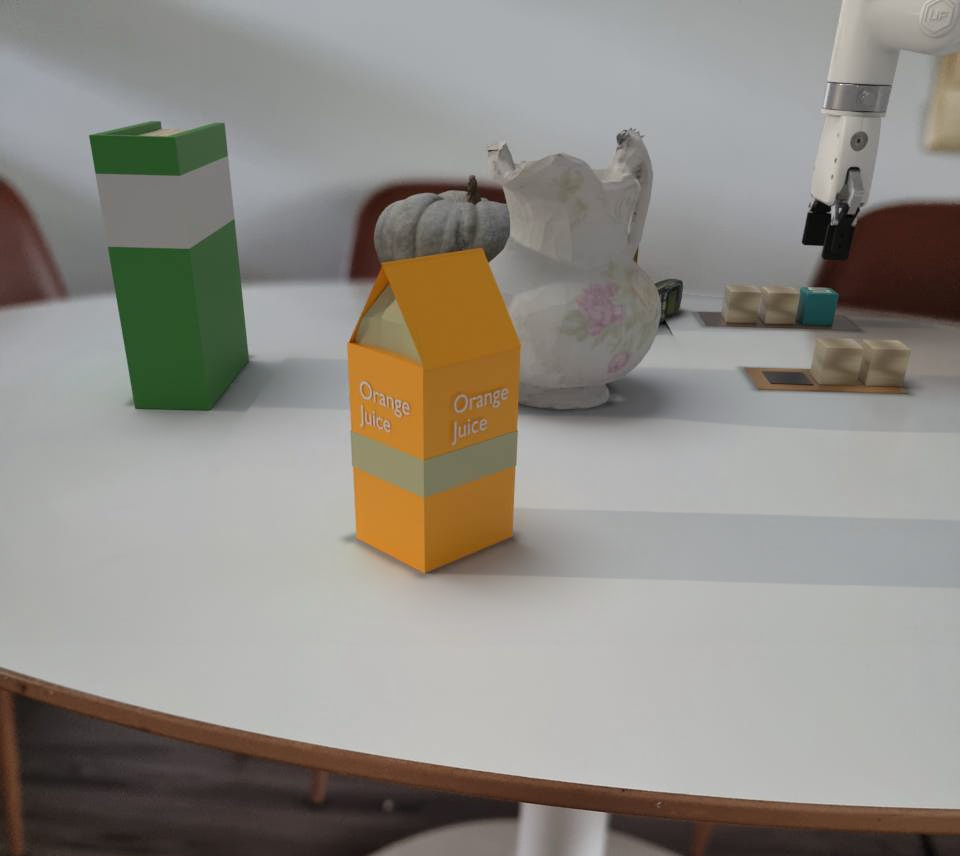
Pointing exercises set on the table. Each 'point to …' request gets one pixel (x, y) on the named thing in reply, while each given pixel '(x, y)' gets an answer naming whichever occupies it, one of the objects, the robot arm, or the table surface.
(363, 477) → the orange juice
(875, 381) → the right board
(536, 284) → the ceramic pitcher
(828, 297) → the teal block
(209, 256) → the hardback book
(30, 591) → the table surface
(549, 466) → the table surface
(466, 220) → the gourd
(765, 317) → the left board
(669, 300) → the mobile phone
